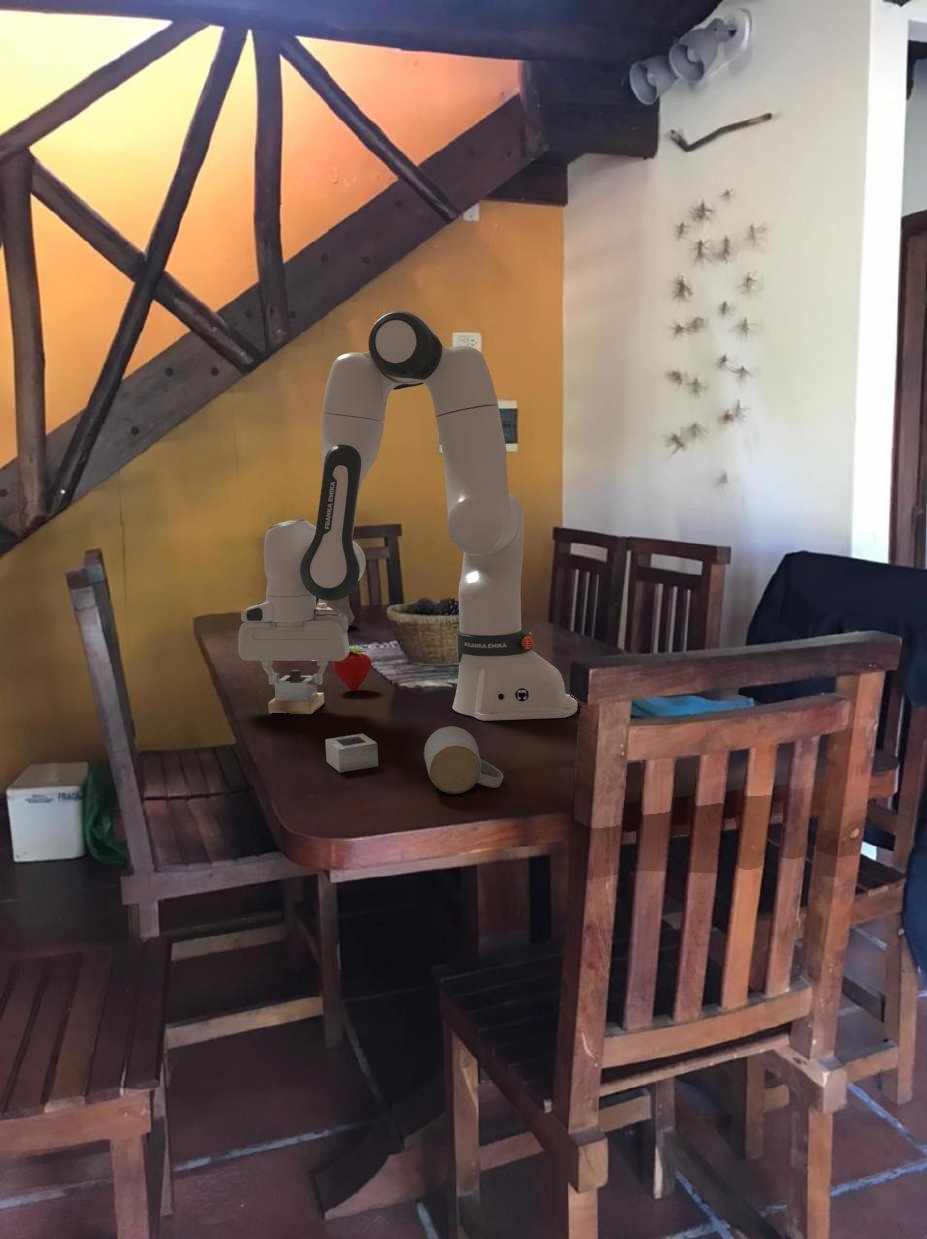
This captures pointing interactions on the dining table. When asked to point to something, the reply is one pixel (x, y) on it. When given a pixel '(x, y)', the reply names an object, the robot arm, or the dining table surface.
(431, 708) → the dining table surface
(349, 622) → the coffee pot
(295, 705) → the block
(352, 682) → the strawberry
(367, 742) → the white square box
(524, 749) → the dining table surface
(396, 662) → the dining table surface
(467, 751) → the ceramic mug
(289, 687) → the end link
